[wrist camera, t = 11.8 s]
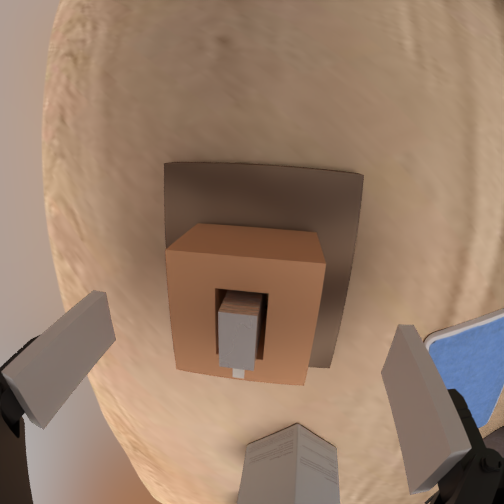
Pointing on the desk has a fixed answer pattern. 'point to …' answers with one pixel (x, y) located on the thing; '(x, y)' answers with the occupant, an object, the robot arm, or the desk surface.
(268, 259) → the tan square frame
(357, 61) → the desk surface
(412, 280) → the desk surface
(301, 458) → the supplement box
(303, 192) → the base
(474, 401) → the blue felt tray
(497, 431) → the pillar candle
